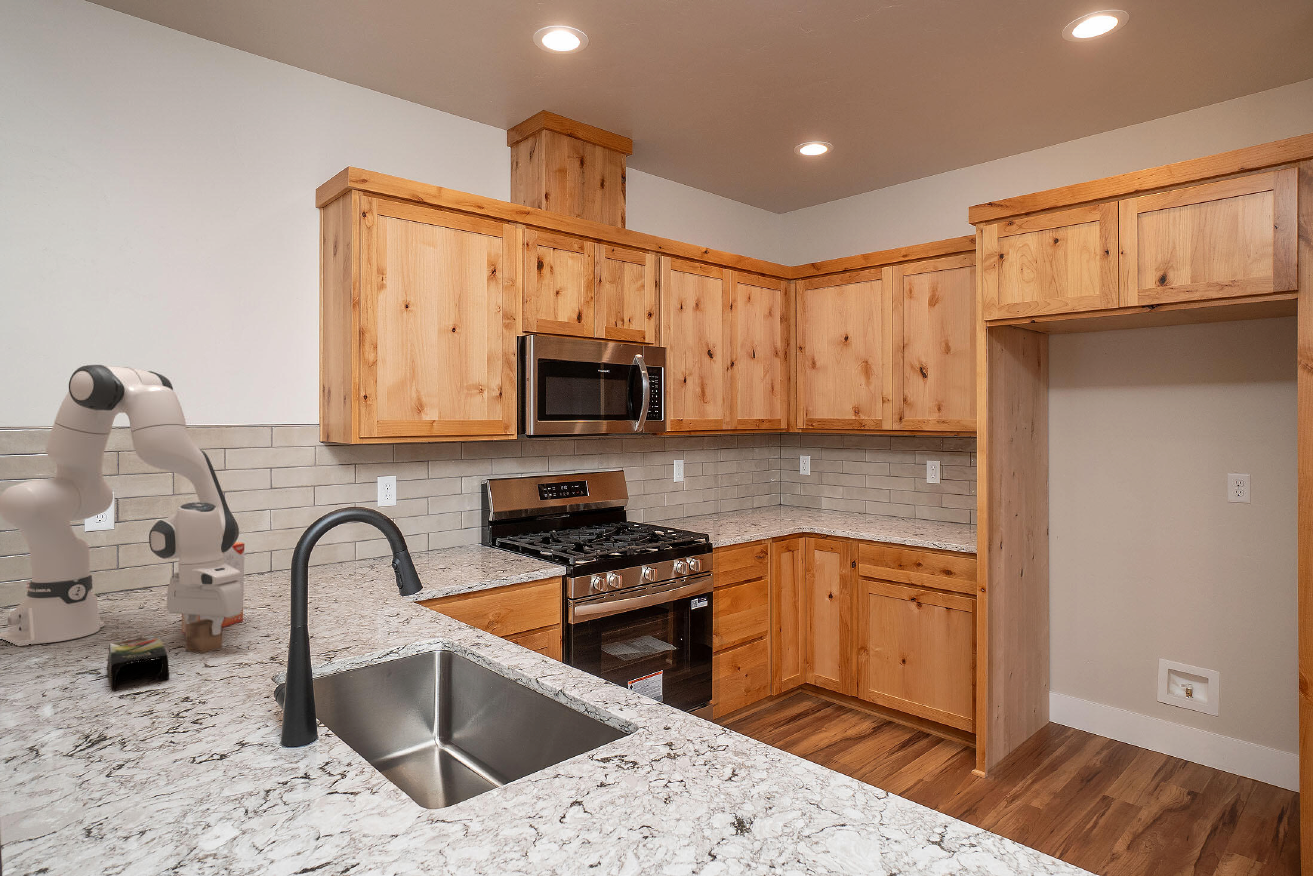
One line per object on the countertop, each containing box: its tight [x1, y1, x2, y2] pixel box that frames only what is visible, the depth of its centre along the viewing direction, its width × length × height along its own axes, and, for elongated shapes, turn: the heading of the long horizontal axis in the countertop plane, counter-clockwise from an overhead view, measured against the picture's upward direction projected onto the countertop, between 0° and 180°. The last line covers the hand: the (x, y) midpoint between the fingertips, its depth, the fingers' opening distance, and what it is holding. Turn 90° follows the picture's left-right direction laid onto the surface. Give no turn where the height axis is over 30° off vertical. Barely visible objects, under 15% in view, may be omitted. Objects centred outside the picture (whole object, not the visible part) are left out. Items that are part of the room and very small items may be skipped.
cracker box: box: [181, 541, 245, 634], centre depth 183 cm, size 14×6×21 cm, turn 168°
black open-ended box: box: [106, 635, 170, 692], centre depth 148 cm, size 20×10×6 cm, turn 39°
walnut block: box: [185, 619, 223, 654], centre depth 164 cm, size 5×5×6 cm
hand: (205, 633), depth 165 cm, fingers closed on walnut block, 5 cm apart
